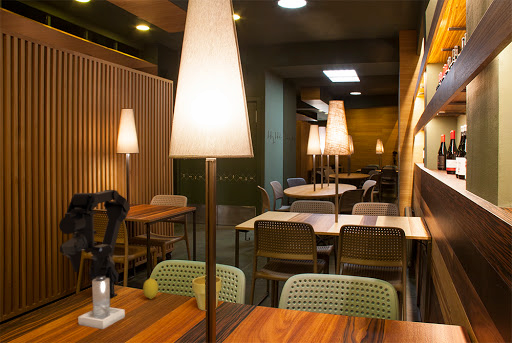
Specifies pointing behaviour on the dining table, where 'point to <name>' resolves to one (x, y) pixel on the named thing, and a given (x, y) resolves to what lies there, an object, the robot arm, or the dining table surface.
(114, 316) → the serving tray
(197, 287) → the plant pot
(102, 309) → the metal water bottle
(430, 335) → the dining table surface
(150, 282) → the lemon
